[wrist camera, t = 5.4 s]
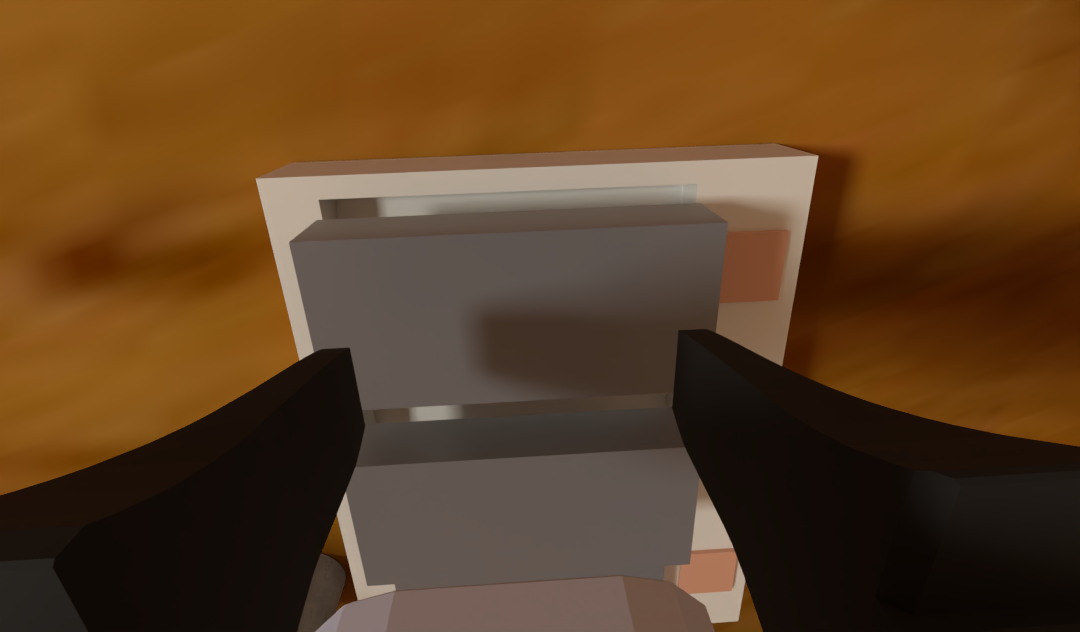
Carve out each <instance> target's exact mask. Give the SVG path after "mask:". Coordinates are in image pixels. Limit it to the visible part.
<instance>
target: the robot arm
mask: <svg viewBox="0 0 1080 632" xmlns="http://www.w3.org/2000/svg"><path fill="white" fill-rule="evenodd" d="M672 410H673V413H674V416H675V419H676V423H677V426H678V429H679V432H680V435H681V438H682V441H683V444H684V446H685V448H686V451H687V453H688V455H689V457H690V459H691V461H692V463H693V465H694V467H695V469H696V471H697V473H698V475H699V477H700V479H701V481H702V483H703V485H704V487H705V489H706V491H707V493H708V495H709V497H710V499H711V501H712V503H713V505H714V507H715V509H716V511H717V513H718V515H719V517H720V519H721V521H722V523H723V525H724V527H725V530H726V532H727V534H728V536H729V539H730V541H731V543H732V545H733V548H734V550H735V553H736V556H737V559H738V561H739V564H740V567H741V569H742V572H743V575H744V578H745V580H746V583H747V586H748V588H749V591H750V594H751V597H752V600H753V603H754V606H755V609H756V612H757V615H758V618H759V620H760V623H761V626H762V629H763V632H1080V447H1077V446H1071V445H1064V444H1058V443H1051V442H1044V441H1038V440H1031V439H1024V438H1018V437H1011V436H1005V435H1000V434H994V433H989V432H985V431H980V430H975V429H970V428H965V427H960V426H956V425H951V424H947V423H943V422H939V421H935V420H930V419H926V418H923V417H919V416H915V415H912V414H908V413H905V412H901V411H898V410H894V409H890V408H887V407H884V406H881V405H878V404H874V403H871V402H868V401H865V400H862V399H860V398H857V397H854V396H851V395H849V394H846V393H843V392H840V391H838V390H835V389H832V388H830V387H827V386H825V385H822V384H820V383H818V382H815V381H813V380H811V379H809V378H806V377H804V376H802V375H800V374H797V373H795V372H793V371H791V370H789V369H787V368H785V367H783V366H780V365H778V364H776V363H774V362H772V361H770V360H768V359H766V358H764V357H763V356H761V355H759V354H757V353H755V352H753V351H751V350H749V349H747V348H745V347H743V346H741V345H739V344H738V343H736V342H734V341H732V340H730V339H728V338H726V337H724V336H722V335H720V334H718V333H715V332H713V331H710V330H708V329H694V330H678V342H677V355H676V367H675V379H674V392H673V404H672ZM364 430H365V422H364V417H363V412H362V407H361V402H360V397H359V391H358V386H357V381H356V376H355V371H354V366H353V361H352V356H351V351H350V348H331V349H320V350H318V351H316V352H314V353H312V354H310V355H308V356H306V357H305V358H303V359H301V360H300V361H298V362H296V363H295V364H293V365H291V366H290V367H288V368H287V369H285V370H283V371H282V372H280V373H279V374H277V375H275V376H274V377H272V378H271V379H269V380H267V381H266V382H264V383H262V384H261V385H259V386H258V387H256V388H254V389H253V390H251V391H249V392H248V393H246V394H244V395H242V396H241V397H239V398H237V399H235V400H234V401H232V402H230V403H228V404H227V405H225V406H223V407H221V408H220V409H218V410H216V411H214V412H213V413H211V414H209V415H207V416H205V417H203V418H201V419H199V420H197V421H196V422H194V423H192V424H190V425H188V426H186V427H183V428H181V429H179V430H177V431H175V432H173V433H171V434H168V435H166V436H164V437H162V438H160V439H158V440H155V441H153V442H151V443H149V444H146V445H144V446H141V447H139V448H136V449H134V450H131V451H129V452H126V453H124V454H121V455H118V456H116V457H113V458H111V459H108V460H106V461H103V462H101V463H98V464H96V465H93V466H90V467H88V468H85V469H82V470H79V471H76V472H73V473H70V474H67V475H65V476H62V477H59V478H56V479H53V480H50V481H46V482H43V483H40V484H37V485H34V486H30V487H27V488H24V489H21V490H18V491H14V492H11V493H7V494H4V495H1V496H0V632H297V631H298V627H299V623H300V620H301V616H302V613H303V609H304V606H305V602H306V598H307V595H308V591H309V588H310V584H311V581H312V577H313V574H314V571H315V568H316V565H317V563H318V560H319V557H320V554H321V552H322V549H323V547H324V544H325V542H326V539H327V537H328V534H329V532H330V529H331V527H332V525H333V522H334V520H335V517H336V515H337V512H338V510H339V507H340V505H341V502H342V500H343V497H344V495H345V492H346V490H347V487H348V485H349V482H350V480H351V477H352V475H353V472H354V469H355V467H356V464H357V460H358V456H359V452H360V448H361V443H362V439H363V434H364ZM315 632H715V631H714V628H713V625H712V622H711V620H710V617H709V614H708V612H707V609H706V606H705V605H704V604H702V603H701V602H699V601H698V600H697V599H695V598H694V597H692V596H691V595H689V594H688V593H687V592H685V591H684V590H682V589H681V588H679V587H678V586H676V585H675V584H674V583H672V582H668V581H664V580H657V579H649V578H641V577H633V576H625V575H609V576H595V577H580V578H565V579H551V580H536V581H522V582H507V583H492V584H478V585H463V586H448V587H434V588H419V589H404V590H396V591H392V592H388V593H384V594H381V595H377V596H373V597H369V598H366V599H362V600H358V601H354V602H351V603H348V604H346V605H344V606H343V607H341V608H340V609H339V610H338V611H337V612H336V613H335V614H334V615H333V616H332V617H331V618H329V619H328V620H327V621H326V622H325V623H324V624H323V625H322V626H321V627H320V628H318V629H317V630H316V631H315Z"/></svg>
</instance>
